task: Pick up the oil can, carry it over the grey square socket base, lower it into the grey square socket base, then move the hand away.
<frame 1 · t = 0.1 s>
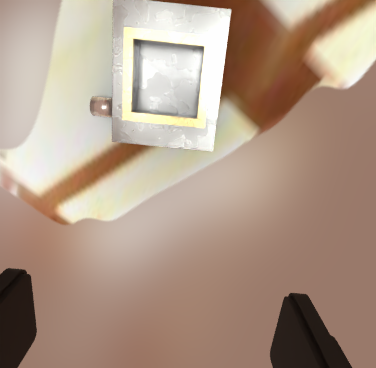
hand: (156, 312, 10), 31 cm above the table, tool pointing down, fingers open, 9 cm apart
grey square socket base: (169, 81, 37), on the table
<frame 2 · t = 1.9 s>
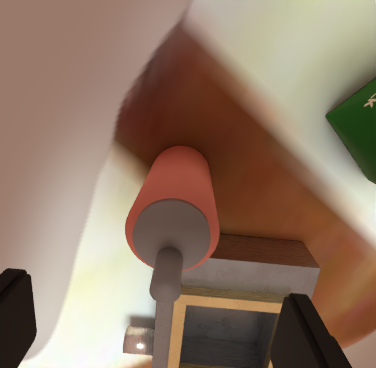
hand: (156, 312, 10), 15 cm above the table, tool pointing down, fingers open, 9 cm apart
oil can: (180, 173, 24), on the table
grey square socket base: (222, 302, 29), on the table
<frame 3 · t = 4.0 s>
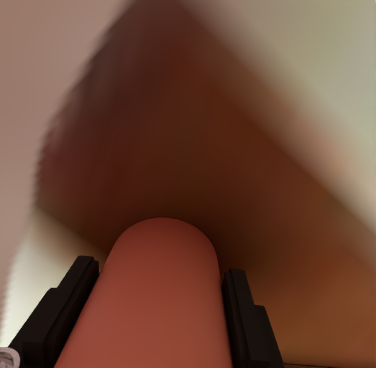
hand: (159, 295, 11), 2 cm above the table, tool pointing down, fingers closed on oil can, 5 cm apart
oil can: (164, 266, 13), on the table, touching gripper
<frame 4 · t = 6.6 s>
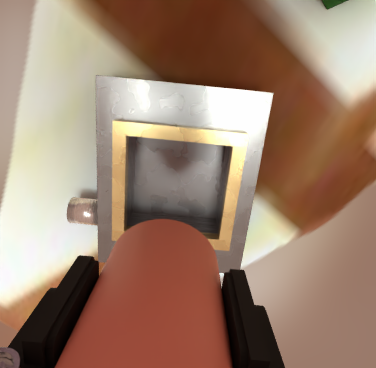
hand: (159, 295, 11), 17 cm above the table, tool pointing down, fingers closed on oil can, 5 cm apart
oil can: (163, 267, 13), point 15 cm above the table, touching gripper
grey square socket base: (178, 172, 27), on the table
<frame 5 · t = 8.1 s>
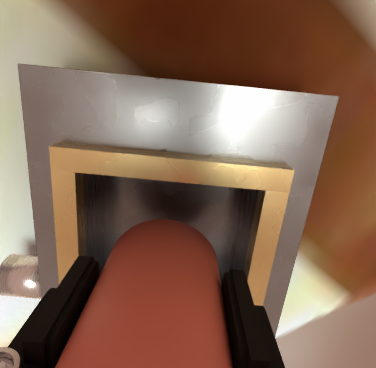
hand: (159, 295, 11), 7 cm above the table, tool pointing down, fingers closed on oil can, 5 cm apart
oil can: (163, 267, 13), point 5 cm above the table, touching gripper
grey square socket base: (171, 215, 18), on the table
when the fingers open (6 cm above the table, at t = 9.2 s): oil can drops 3 cm, resting on grey square socket base.
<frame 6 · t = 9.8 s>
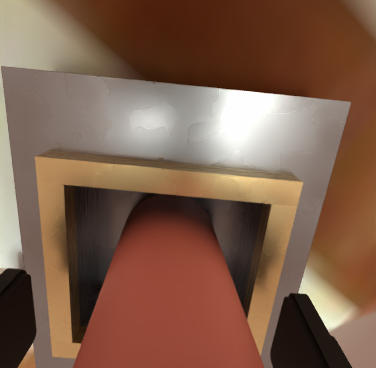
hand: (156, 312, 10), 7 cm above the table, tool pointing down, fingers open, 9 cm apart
oil can: (168, 236, 15), point 1 cm above the table, tilted 6°, touching grey square socket base
grey square socket base: (170, 225, 17), on the table
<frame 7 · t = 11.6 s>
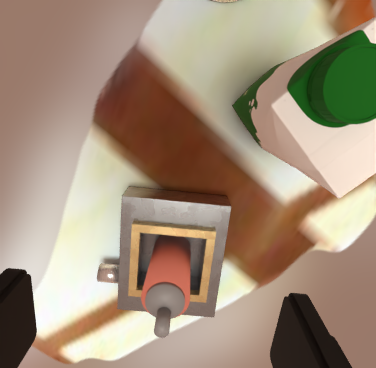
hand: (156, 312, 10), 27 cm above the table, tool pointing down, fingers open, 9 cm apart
milk carton: (271, 110, 34), on the table
oil can: (172, 248, 38), point 1 cm above the table, touching grey square socket base
grey square socket base: (172, 245, 39), on the table
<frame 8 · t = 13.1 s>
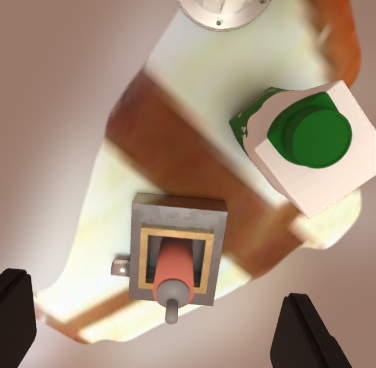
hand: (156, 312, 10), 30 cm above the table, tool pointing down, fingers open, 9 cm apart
milk carton: (264, 125, 38), on the table
oil can: (176, 246, 43), point 1 cm above the table, touching grey square socket base
grey square socket base: (176, 243, 44), on the table
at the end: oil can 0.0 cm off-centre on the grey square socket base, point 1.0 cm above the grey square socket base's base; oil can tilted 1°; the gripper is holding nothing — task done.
